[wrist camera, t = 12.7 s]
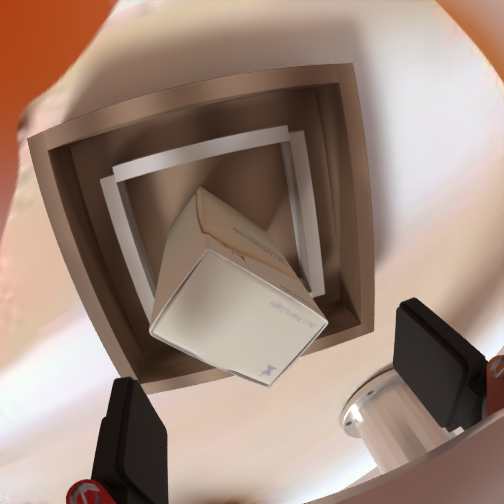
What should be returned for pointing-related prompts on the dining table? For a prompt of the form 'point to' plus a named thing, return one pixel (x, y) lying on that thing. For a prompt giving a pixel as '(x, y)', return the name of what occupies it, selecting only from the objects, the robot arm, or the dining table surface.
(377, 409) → the robot arm
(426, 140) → the dining table surface
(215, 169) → the walled box
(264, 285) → the skincare box
